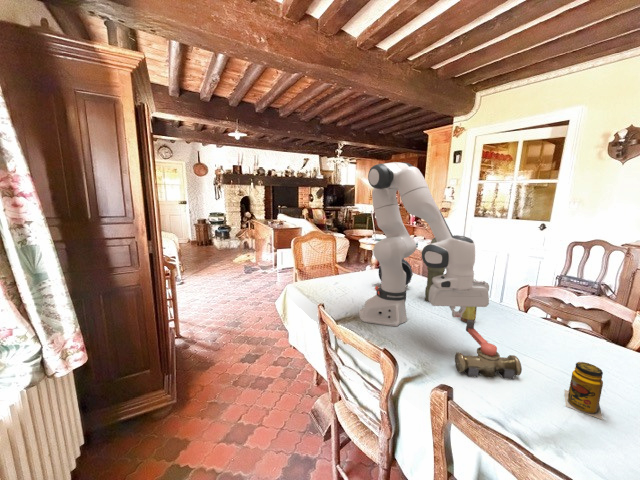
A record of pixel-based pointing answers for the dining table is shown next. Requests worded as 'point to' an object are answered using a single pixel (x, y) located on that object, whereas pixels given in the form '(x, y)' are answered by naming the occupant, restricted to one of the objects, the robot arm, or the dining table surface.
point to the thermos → (432, 275)
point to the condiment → (585, 389)
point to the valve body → (488, 365)
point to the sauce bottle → (469, 313)
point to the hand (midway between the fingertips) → (456, 316)
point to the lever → (481, 340)
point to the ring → (406, 268)
